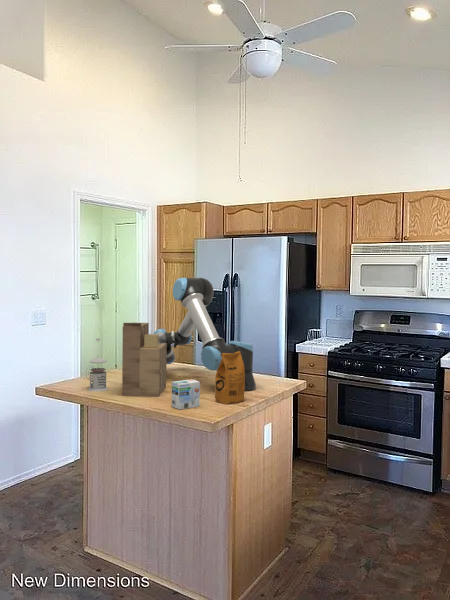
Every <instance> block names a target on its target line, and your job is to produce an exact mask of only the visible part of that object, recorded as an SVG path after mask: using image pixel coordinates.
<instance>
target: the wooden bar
mask: <svg viewBox="0 0 450 600" xmlns="http://www.w3.org/2000/svg"><path fill="white" fill-rule="evenodd" d="M164 341H165V333H156V334H154V333H149V334H145V335H144V348H158V347H159V345H160V344H161V343H163V342H164Z"/></svg>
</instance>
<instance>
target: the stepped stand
mask: <svg viewBox="0 0 450 600" xmlns="http://www.w3.org/2000/svg"><path fill="white" fill-rule="evenodd" d="M122 324H123V325H122V355H121V357H122V361H121V363H122V364H121V365H122V367H121V368H122V372H121V373H122V379H121V383H122V385H121V390H122V391H121V396H122V397H149V398H151V397H152V398H153V397H154V398H159V397H160V396H161V395H162V393H164V391H165V390H166V388H167V364H166V354H167V343H161V344H160V345H159V347H158V348H144V335H145V334H150V331H149V329H150V327H149V326H150V324H149V322H123V323H122Z"/></svg>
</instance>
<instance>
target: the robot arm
mask: <svg viewBox="0 0 450 600" xmlns="http://www.w3.org/2000/svg"><path fill="white" fill-rule="evenodd" d="M214 291H215V290H214V287H213V284H212V282H211V281H209V280H208V279H206V278H204V277H180V278H177V279H176V280H175V281H174V284H173V287H172V296H173V298H174V300H175V301H177V302H181V305H182V307H184V308H186V309H187V312H186V315H185V316H184V318H183V320H182V322H181V324H180V325H179V328H178V329H177V331H175V332H174V330H172V331H171V332H167V330H166V329H165V328H158V329H157V330H155V331H154V332H153V334H156V333H165V341H164V342H163V343H167V354H166V365H172V364H173V363H174V362H175V360H176V355H175V352H174V349H173V348H175V349H176V348H177V346H186V345H189V344H190V343H192V339H193V336H192V332H193V330H194V329H196V331H197V333H198V336H199V338H200V340H201V342H202V344H203V345H202V347H201V352H200V356H201V358H200V360H201V362H202V364H203V367H204V368H206V369H207V370H208V371H216V372H217V369H218V367H219V365H220V362H221V359H222V356H221V353H232V354H233V353H236V352H238V351H240V353H241V356H242V360H243V364H244V370H245V390H244V392H248V391H253V390H256V388H257V385H256V381H255V377H254V374H253V373H254V372H253V366H254V365H253V362H254V361H253V358H254V346H253V344H252V343H250V342H244V341H236V340H230V341H229V343H228V344H227V343H226V342H225V339H224V338H223V337H220V336H219V333H218V331H217V330H216V327H215V325H214V323H213V320H212V319H211V316H210V315H209V312H208V311H207V306H209V305H210V304H211V303H212V301H213V298H214Z"/></svg>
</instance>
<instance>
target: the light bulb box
mask: <svg viewBox="0 0 450 600" xmlns="http://www.w3.org/2000/svg"><path fill="white" fill-rule="evenodd" d="M200 395H201V382H200V381H198V380H195V379H192V378H191V379H184V380H177V381H171V408H174V409H177V410H185V409H192V408H193V409H194V408H198V407H200V403H201V402H200V400H201V398H200V397H201V396H200Z"/></svg>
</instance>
